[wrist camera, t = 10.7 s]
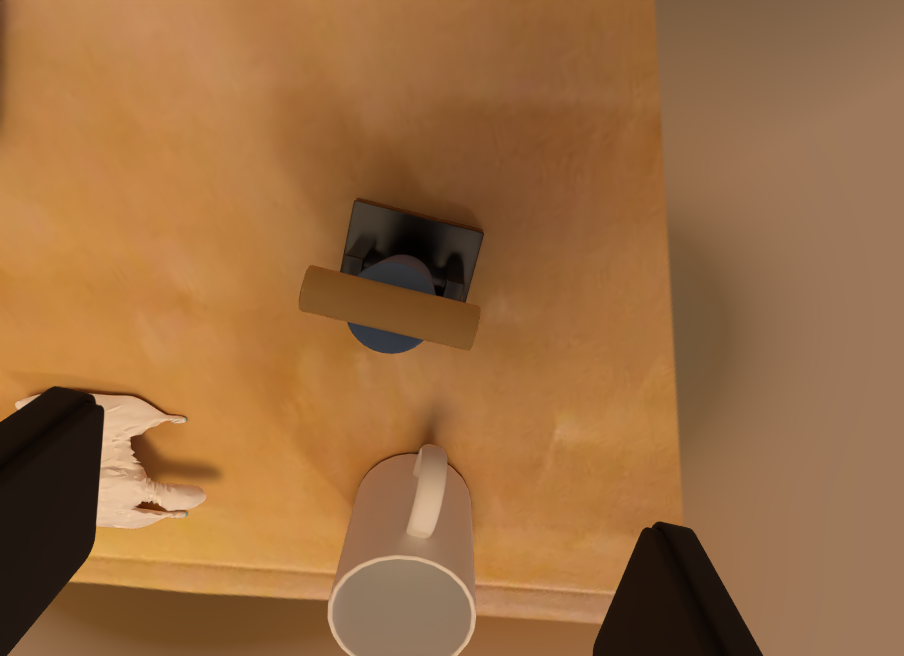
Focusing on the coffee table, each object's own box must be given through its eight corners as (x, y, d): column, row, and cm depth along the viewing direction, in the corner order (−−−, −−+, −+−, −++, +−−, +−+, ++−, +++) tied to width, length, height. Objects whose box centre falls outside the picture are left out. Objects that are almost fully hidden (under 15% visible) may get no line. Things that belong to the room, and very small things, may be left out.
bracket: (357, 197, 36) (338, 213, 30) (483, 229, 37) (488, 251, 31) (336, 299, 38) (314, 334, 32) (456, 328, 39) (456, 367, 33)
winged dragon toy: (-40, 505, 43) (-89, 544, 39) (-59, 370, 40) (-115, 397, 36) (222, 534, 44) (199, 574, 40) (223, 403, 41) (199, 434, 37)
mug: (457, 558, 45) (458, 685, 35) (347, 538, 44) (316, 661, 34) (498, 407, 41) (512, 501, 31) (378, 383, 40) (354, 470, 30)
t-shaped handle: (311, 241, 20) (290, 336, 21) (488, 286, 21) (464, 377, 21) (352, 241, 32) (339, 301, 33) (465, 269, 33) (450, 328, 33)
